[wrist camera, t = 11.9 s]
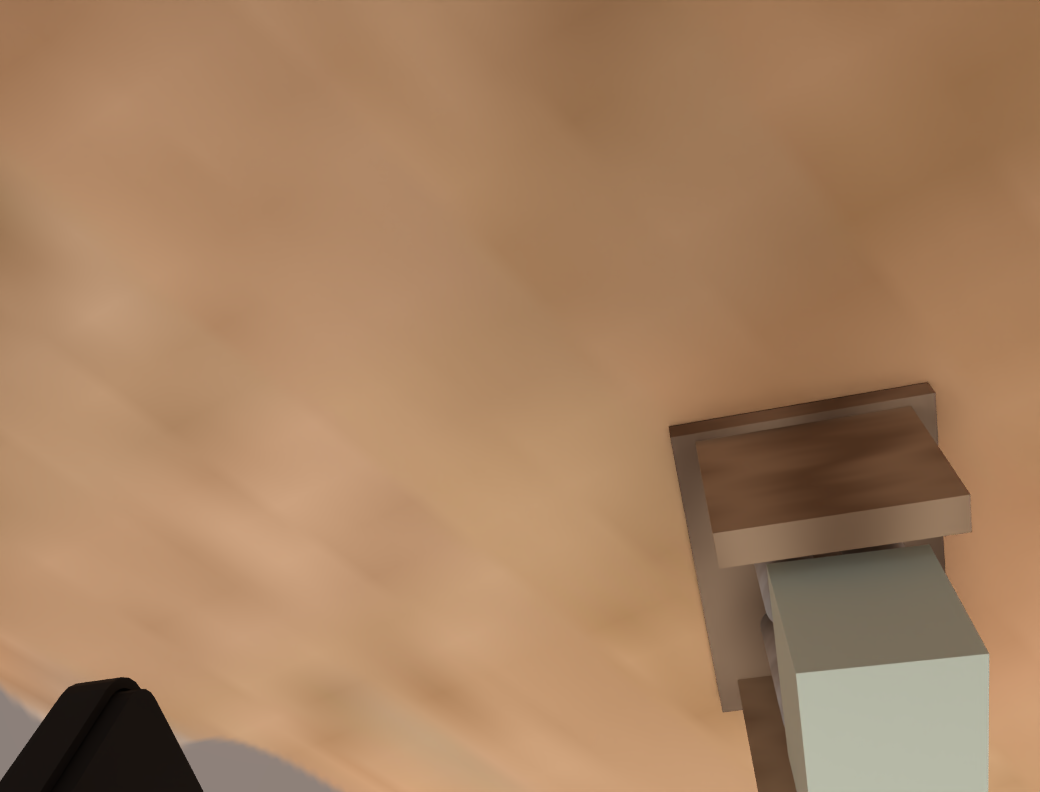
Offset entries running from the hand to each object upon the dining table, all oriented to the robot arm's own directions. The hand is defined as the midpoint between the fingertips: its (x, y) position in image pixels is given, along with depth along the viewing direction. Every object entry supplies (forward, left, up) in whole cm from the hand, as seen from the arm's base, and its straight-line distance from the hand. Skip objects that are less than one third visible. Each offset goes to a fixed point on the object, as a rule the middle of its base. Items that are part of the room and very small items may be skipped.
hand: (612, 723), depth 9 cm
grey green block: (-6, +21, -23) cm, 32 cm away
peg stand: (-6, +21, -30) cm, 37 cm away
